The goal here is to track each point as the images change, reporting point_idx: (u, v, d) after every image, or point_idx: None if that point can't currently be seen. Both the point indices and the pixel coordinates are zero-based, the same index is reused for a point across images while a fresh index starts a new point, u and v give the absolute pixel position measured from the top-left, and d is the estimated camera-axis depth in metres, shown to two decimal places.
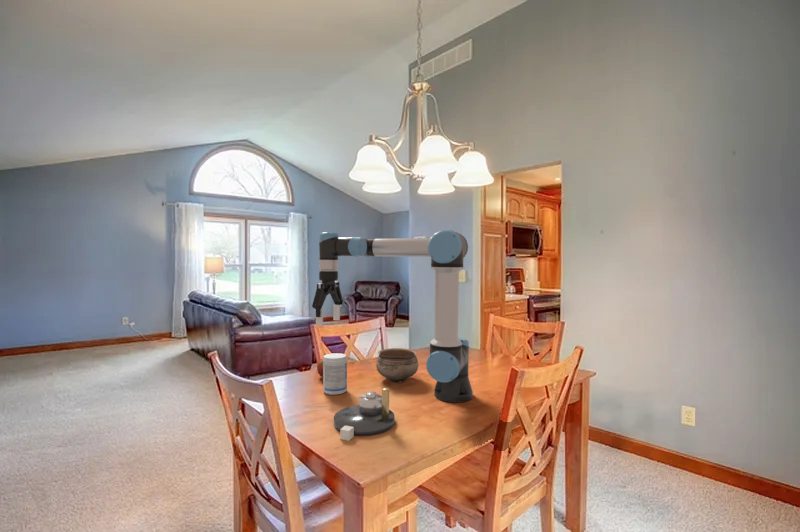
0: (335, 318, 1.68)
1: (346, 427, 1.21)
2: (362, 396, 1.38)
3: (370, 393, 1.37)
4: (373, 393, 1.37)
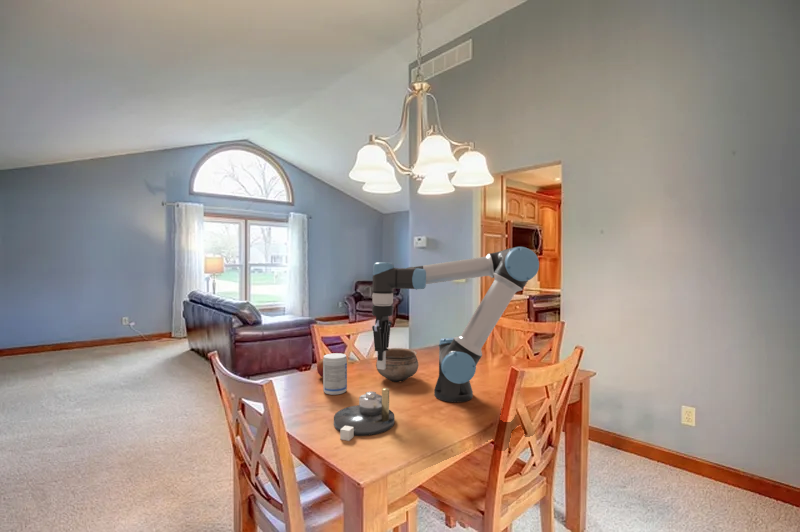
0: None
1: (346, 427, 1.21)
2: (362, 396, 1.38)
3: (370, 393, 1.37)
4: (373, 393, 1.37)
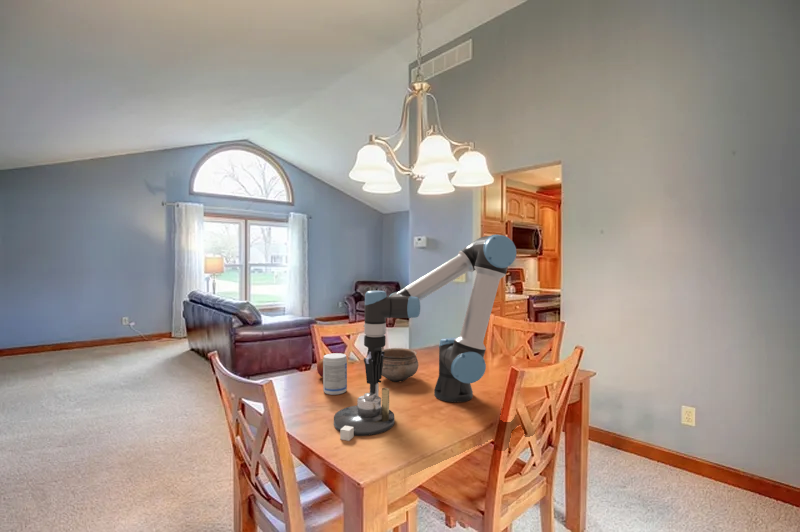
0: None
1: (346, 427, 1.21)
2: (360, 397, 1.36)
3: (368, 394, 1.35)
4: (371, 394, 1.36)
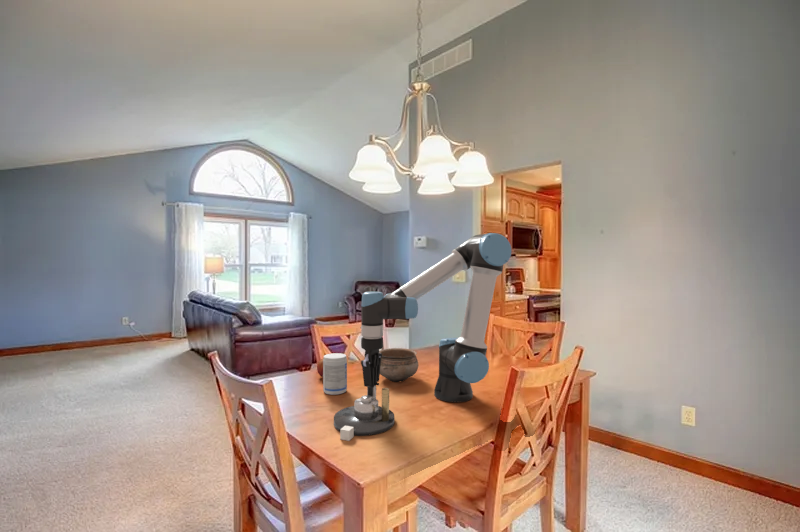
0: None
1: (346, 427, 1.21)
2: (357, 400, 1.34)
3: (365, 397, 1.33)
4: (368, 397, 1.33)
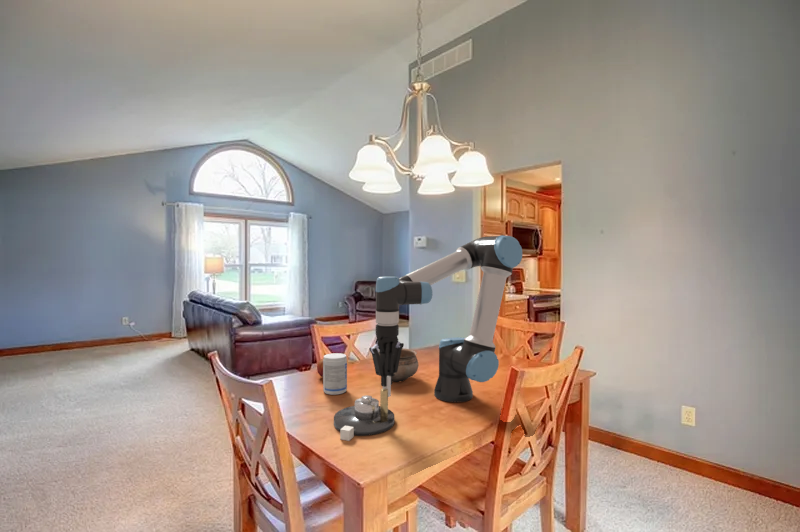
0: None
1: (346, 427, 1.21)
2: (358, 400, 1.34)
3: (366, 397, 1.33)
4: (369, 397, 1.33)
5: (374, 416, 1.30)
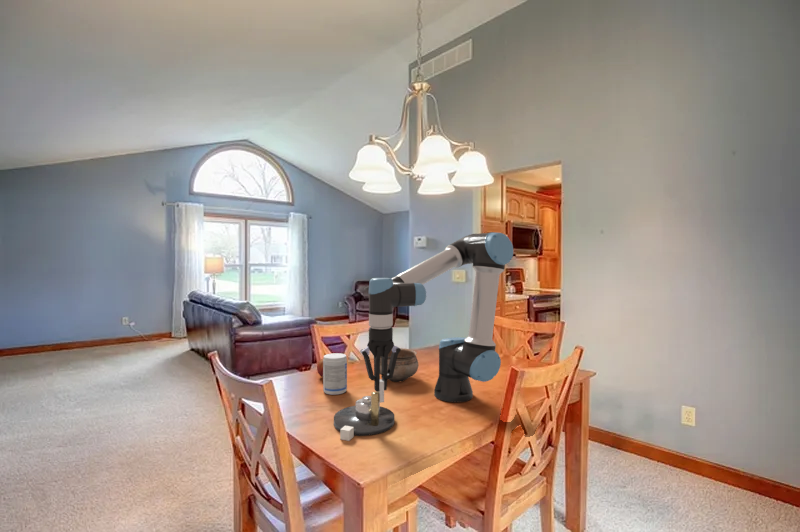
0: None
1: (346, 427, 1.21)
2: None
3: (366, 397, 1.32)
4: (369, 398, 1.32)
5: (369, 418, 1.29)
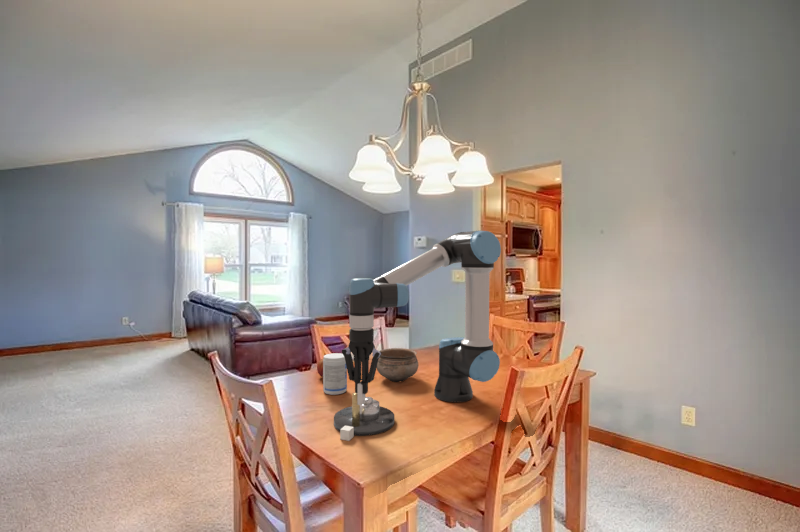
0: None
1: (346, 427, 1.21)
2: None
3: (366, 398, 1.32)
4: (368, 399, 1.31)
5: None
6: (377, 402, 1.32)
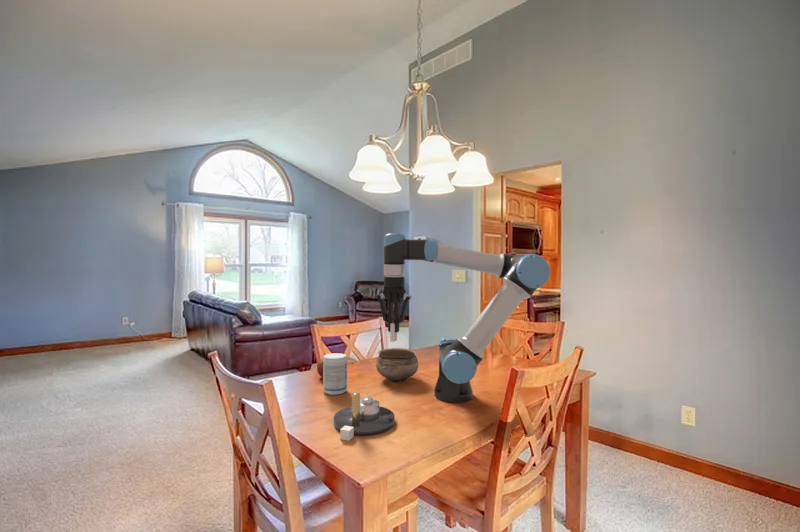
0: None
1: (346, 427, 1.21)
2: None
3: (366, 398, 1.32)
4: (368, 399, 1.31)
5: None
6: (377, 402, 1.32)
